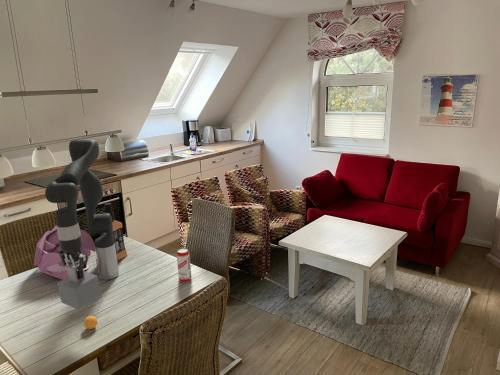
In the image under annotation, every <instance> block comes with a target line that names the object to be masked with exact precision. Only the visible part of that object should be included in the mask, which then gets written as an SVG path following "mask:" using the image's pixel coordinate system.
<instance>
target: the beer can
mask: <svg viewBox="0 0 500 375" xmlns="http://www.w3.org/2000/svg"><path fill="white" fill-rule="evenodd" d="M176 262H177V263H176V264H177V275H178V281H179V282H180V283H183V284H184V283H188V282H190V281H191V280H192V266H191V254H190V251H189V249H188V248H187V247H183V248H179V249H177V252H176Z"/></svg>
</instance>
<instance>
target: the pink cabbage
mask: <svg viewBox="0 0 500 375" xmlns="http://www.w3.org/2000/svg"><path fill="white" fill-rule="evenodd" d="M80 233H81V239H82V246H81V248H80V250H81V252H82V255H87V262H88V260H89V257H90V256H91V254H92V252H94V253H96V249H95V240H93V238H92V236H91V235H90V234H89V233H88V232H86V231H85V230H83V229H80ZM60 250H61V249H60V244H59V239H58V233H57V224H56V225H55V226H54V227H53V228H52V229H51V230H47V231H46V232H45V233H44V234H43V236H42V237H41V238H40V239H39V240H38V242H37V243H36V247H35V251H34V252H35V253H34V260H33V267H37V268H38V270H39V272H41V273H43V274H46V275H49V276H50V277H51V276H52V277H54V278H57V279H60V280H63V279H65V278H66V277H68V272H67V268H66V265H65V266H64V265H63V262H62V260H61V257H60V255H59V251H60ZM78 261H79V260H78ZM78 261H76V262H78ZM89 267H90V266H89V264H87V267H86V268H85V269H84V271H85V270H88V269H89ZM85 272H88V271H85Z"/></svg>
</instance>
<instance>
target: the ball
mask: <svg viewBox="0 0 500 375" xmlns="http://www.w3.org/2000/svg"><path fill="white" fill-rule="evenodd" d="M97 325H98V319H97V317H96V316H95V315H89V316H87V317H86V318H85V319H84V321H83V326H84V328H86V329H87V330H92V329H95V327H96V326H97Z"/></svg>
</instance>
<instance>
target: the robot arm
mask: <svg viewBox="0 0 500 375" xmlns="http://www.w3.org/2000/svg"><path fill="white" fill-rule="evenodd" d="M68 144H69V145H68V151H69V155H70V156H69V157H70V160H71V162H70V163H69V164H67V165H66V166H65V167H63V168H64V169H63V170H62V171H61V174H60V175H59V176H57V177H56V178H54V179H53V180H52V181H51V182H50V183H49V184H48V185H47V186H46V188H45V191H44V195H45V198H46V200H47V201H48V202H49V203H52V204H61V203H62V204H63V203H64V204H66V206H64V207H61V208H58V209H56V210H55V212H54V217H55V223H56V225H57V233H58V239H59V244H60V249H61V250H60V251H59V255H60V257H61V260H62V262H63V265H64V266H65V265H66V266H68V265H70V264H73V266H75V268H76V273H77V279H79V280H80V279H82V278H83V277H84V275H83V269H85V268H86V267H87V265H88V261H87V255H82V252H81V250H80V248H81V246H82V239H81V233H80V230H81V229H80V225H79V221H78V214H77V208H78V207H77V205H78V198H79V190H80V194H81V198H82V201H83V204H84V209H85V213H86V218H87V220H86V221H87V224H88V228H89V232H90V233H91V234H101V233H103V232H106V234H105V235H103V236H101V235H100V236H99V237H98V238H96V239H95V240H94V244H95V249H96V252H95V253H96V267H97V274H98V275H97V276H99V279H101V280H105V281H107V280H108V281H109V280H113V279H115V278H116V277H118V276H119V274H120V273H119V272H120V271H119V266H118V265H119V264H118V261H117V256H116V249H115V242H114V235H113V224H112V217H111V215H110V214H109V213H105V212H104V213H97V214H95V211H96V209H97V207H98V205H99V204H100V203H101V201H102V199H103V197H104V190H103V186H102V181H101V180H100V178H99V177H98V176H97V175H96V174H94V173H93V171H91V169H90V168H91V167H92V165H93V164H94V163H95V162H96V161H97V160H98V158H99V154H100V146H99V143H98V142H97V140H95V139H79V138H77V139H72V140H70V142H69V143H68ZM78 186H79V188H78ZM78 260H79V261H78ZM76 261H78V262H76ZM75 262H76V263H75ZM78 264H79V267H78Z"/></svg>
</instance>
